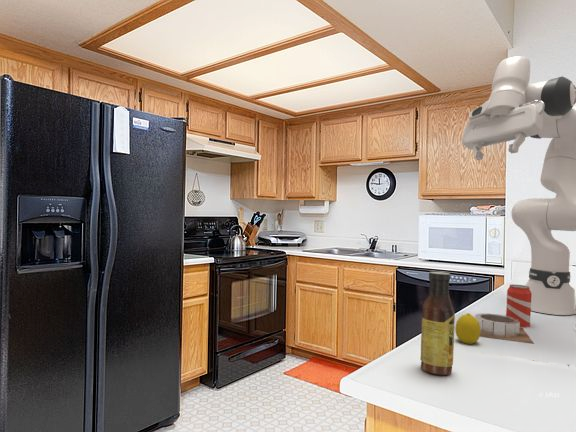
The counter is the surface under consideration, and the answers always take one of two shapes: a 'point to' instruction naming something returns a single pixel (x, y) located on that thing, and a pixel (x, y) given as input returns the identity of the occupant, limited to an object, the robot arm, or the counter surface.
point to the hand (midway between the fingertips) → (494, 155)
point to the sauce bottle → (438, 327)
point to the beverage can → (519, 304)
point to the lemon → (467, 329)
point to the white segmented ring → (498, 325)
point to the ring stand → (521, 338)
